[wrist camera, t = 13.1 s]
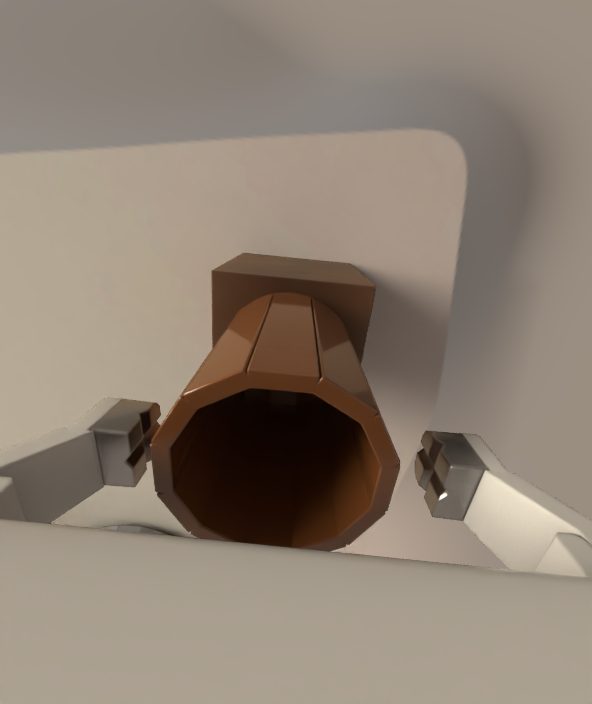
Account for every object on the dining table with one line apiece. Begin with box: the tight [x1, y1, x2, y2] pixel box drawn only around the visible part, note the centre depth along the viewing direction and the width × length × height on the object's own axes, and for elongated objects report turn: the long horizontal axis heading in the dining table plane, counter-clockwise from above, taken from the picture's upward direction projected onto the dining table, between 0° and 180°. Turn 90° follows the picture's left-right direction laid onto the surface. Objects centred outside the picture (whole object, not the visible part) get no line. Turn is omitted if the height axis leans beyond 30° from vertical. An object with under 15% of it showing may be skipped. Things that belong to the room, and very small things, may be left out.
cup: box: [150, 292, 400, 551], centre depth 12 cm, size 6×6×8 cm
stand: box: [212, 253, 376, 364], centre depth 19 cm, size 7×7×8 cm
